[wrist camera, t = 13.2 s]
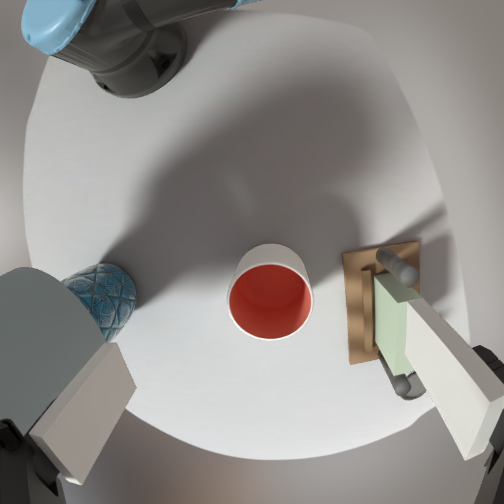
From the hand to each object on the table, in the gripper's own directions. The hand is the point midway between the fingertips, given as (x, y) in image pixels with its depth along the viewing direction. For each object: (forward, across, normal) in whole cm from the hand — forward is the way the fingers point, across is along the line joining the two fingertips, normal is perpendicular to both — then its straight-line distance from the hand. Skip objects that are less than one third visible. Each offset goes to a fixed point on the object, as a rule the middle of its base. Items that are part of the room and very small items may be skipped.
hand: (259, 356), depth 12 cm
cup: (+32, -1, -7) cm, 32 cm away
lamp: (+31, -27, -6) cm, 42 cm away
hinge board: (+31, +15, -16) cm, 38 cm away
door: (+30, +15, -15) cm, 37 cm away
